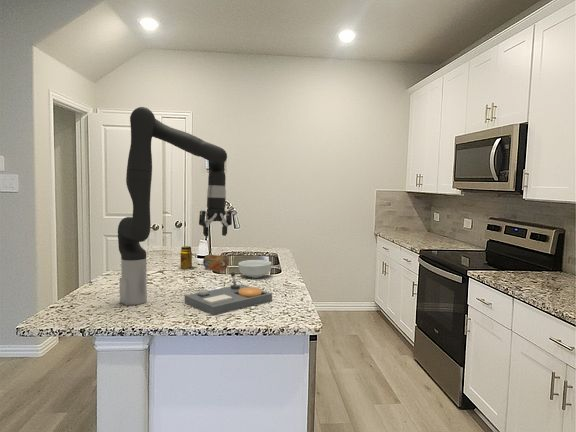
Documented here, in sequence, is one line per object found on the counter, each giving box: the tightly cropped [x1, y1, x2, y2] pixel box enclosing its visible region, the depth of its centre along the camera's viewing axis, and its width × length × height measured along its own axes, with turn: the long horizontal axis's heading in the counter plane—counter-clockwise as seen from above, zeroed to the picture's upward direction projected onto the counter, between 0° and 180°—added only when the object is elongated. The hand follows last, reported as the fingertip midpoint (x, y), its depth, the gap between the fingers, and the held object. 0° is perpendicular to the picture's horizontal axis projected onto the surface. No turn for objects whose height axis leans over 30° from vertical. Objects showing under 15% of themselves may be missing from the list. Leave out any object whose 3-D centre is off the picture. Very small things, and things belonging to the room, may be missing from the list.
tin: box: [202, 254, 229, 272], centre depth 225 cm, size 15×3×8 cm, turn 62°
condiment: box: [178, 245, 197, 271], centre depth 228 cm, size 7×8×12 cm
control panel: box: [184, 284, 273, 316], centre depth 165 cm, size 28×20×4 cm
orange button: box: [239, 286, 263, 298], centre depth 167 cm, size 9×9×2 cm
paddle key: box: [203, 294, 233, 304], centre depth 157 cm, size 10×5×2 cm, turn 134°
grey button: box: [198, 289, 209, 296], centre depth 164 cm, size 4×4×2 cm
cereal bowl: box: [238, 259, 273, 279], centre depth 212 cm, size 17×17×7 cm
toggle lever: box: [230, 271, 237, 285], centre depth 175 cm, size 2×2×6 cm
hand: (215, 235), depth 172 cm, fingers open, 8 cm apart
